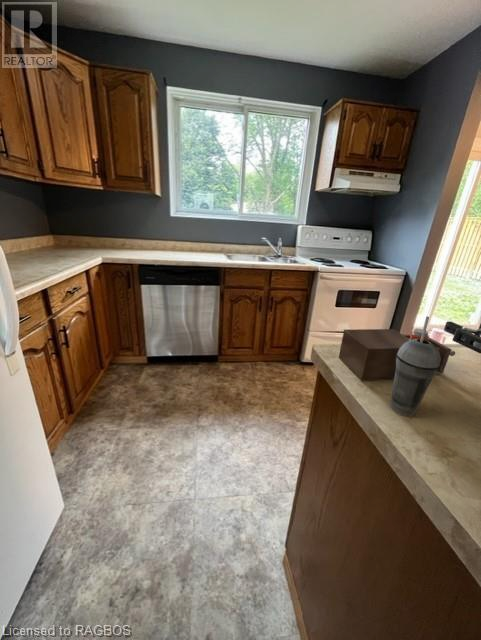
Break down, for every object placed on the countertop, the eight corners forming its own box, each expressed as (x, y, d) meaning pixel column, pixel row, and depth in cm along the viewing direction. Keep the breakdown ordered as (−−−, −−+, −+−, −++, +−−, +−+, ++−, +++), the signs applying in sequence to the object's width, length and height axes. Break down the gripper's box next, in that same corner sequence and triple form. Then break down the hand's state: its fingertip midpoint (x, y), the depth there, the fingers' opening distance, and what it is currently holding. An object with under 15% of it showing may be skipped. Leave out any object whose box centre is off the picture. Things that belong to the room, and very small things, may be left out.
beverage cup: (387, 417, 53) (415, 322, 46) (379, 395, 60) (402, 310, 53) (428, 424, 52) (463, 328, 45) (415, 401, 59) (443, 314, 52)
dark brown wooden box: (385, 356, 78) (393, 329, 75) (415, 378, 68) (425, 347, 65) (338, 357, 76) (344, 329, 73) (361, 380, 65) (368, 348, 62)
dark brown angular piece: (426, 353, 79) (433, 332, 77) (457, 372, 70) (466, 348, 67) (370, 355, 77) (375, 333, 74) (395, 374, 67) (402, 350, 65)
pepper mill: (413, 356, 75) (422, 327, 72) (424, 363, 71) (434, 333, 68) (400, 356, 74) (408, 327, 71) (411, 363, 70) (420, 333, 68)
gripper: (602, 341, 43) (498, 308, 58) (527, 342, 41) (439, 308, 56) (579, 381, 46) (486, 340, 61) (507, 385, 44) (429, 341, 59)
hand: (463, 325), depth 58 cm, fingers open, 8 cm apart
